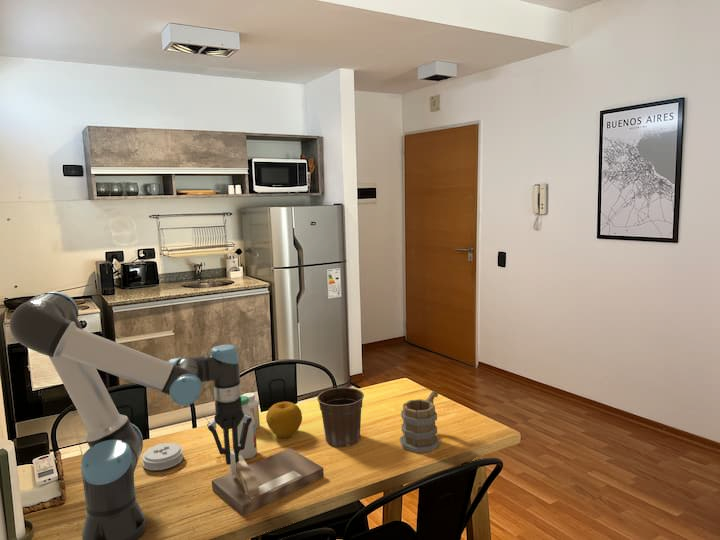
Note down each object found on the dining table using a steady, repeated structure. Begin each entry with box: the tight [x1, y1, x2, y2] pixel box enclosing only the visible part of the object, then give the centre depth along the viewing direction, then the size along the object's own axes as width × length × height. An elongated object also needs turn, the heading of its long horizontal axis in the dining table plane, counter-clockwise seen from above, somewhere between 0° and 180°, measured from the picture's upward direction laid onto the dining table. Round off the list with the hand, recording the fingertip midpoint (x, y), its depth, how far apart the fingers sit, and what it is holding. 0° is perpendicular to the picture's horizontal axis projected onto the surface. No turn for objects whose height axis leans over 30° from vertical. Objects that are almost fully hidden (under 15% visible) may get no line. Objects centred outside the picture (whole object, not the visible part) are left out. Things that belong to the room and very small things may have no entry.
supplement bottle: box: [241, 392, 261, 430], centre depth 199 cm, size 7×7×13 cm
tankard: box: [399, 390, 441, 454], centre depth 184 cm, size 20×13×15 cm, turn 143°
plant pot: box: [317, 387, 365, 448], centre depth 186 cm, size 16×16×16 cm
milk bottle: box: [232, 395, 258, 460], centre depth 178 cm, size 8×8×20 cm
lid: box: [141, 442, 184, 471], centre depth 175 cm, size 13×13×5 cm
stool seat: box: [211, 447, 325, 517], centre depth 161 cm, size 28×18×3 cm, turn 132°
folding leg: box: [236, 455, 259, 497], centre depth 156 cm, size 17×3×4 cm, turn 29°
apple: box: [265, 401, 303, 439], centre depth 192 cm, size 13×13×11 cm
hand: (233, 472), depth 159 cm, fingers closed
